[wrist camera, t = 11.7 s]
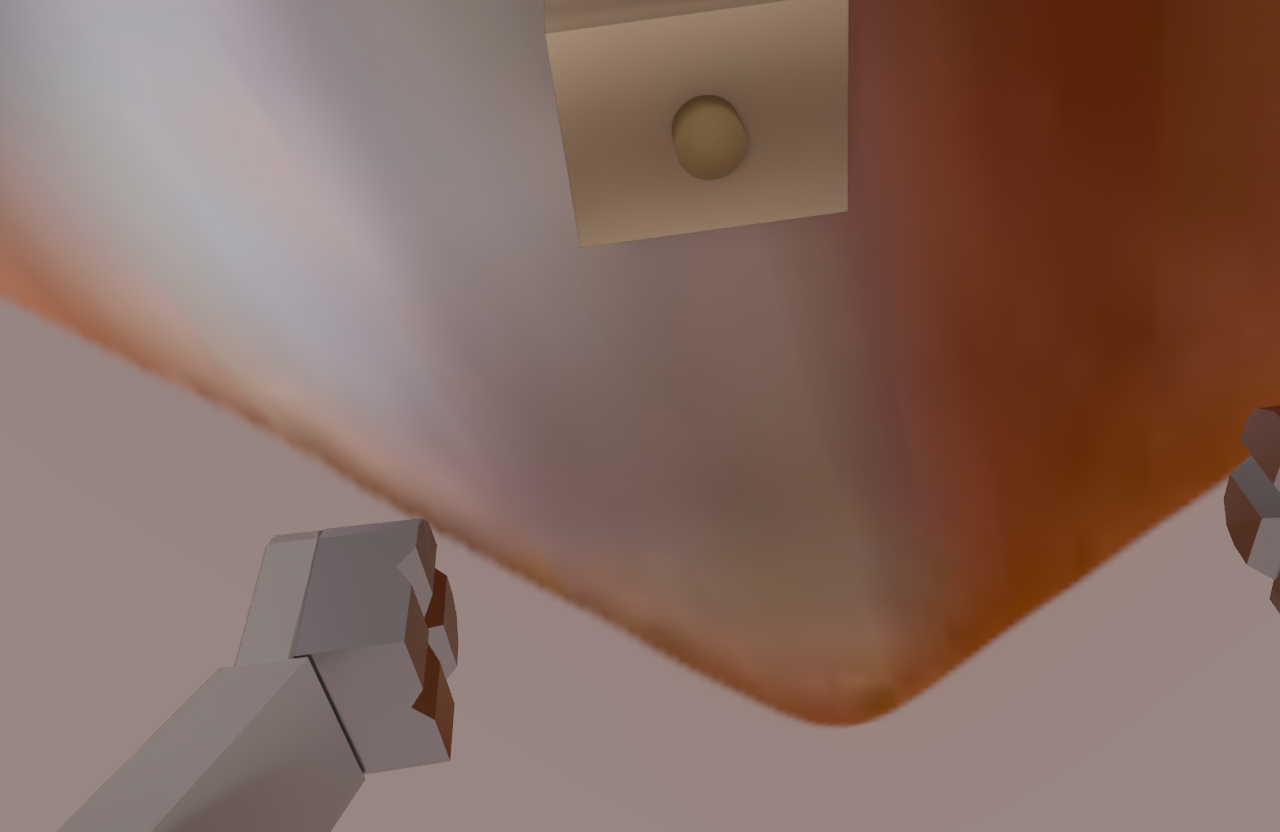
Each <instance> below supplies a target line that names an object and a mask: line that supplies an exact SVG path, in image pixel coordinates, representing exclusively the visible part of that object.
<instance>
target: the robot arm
mask: <svg viewBox="0 0 1280 832" xmlns="http://www.w3.org/2000/svg"><path fill="white" fill-rule="evenodd" d="M1241 441H1242V443H1243V444H1244V446H1245V447H1246V448H1247V450H1248V451H1249V453H1250V454H1251V455H1250V456H1249V457H1248V458H1247V459H1245V460H1244V461H1243V462H1242V463H1241V464H1240V465H1239V466H1238V467H1237V468H1236V469H1235V470H1234V471H1232V472H1231V473H1230V476H1229V480H1228V484H1227V488H1226V492H1225V496H1224V506H1225V515H1226V524H1227V528H1228V530H1229V533H1230V535H1231V538H1232V541H1233V543H1234V546H1235V547H1236V549H1237V550H1238V552H1239V553H1240V555H1241V556H1242V558H1243V560H1244V561H1245V563H1246V564H1247V565H1249V566H1250V567H1252V568H1254V569H1256V570H1258V571H1259V572H1261V573H1263V574H1265V575H1267V576H1268V577H1270V578H1272V579H1274V582H1273V586H1272V591H1271V596H1270V600H1271V601H1272V603H1273V604H1274V606H1275V607H1276V609H1277V610H1278V612H1279V613H1280V405H1278V406H1271V407H1264V408H1257V409H1256V410H1255V411H1254V413H1253V414H1252V415H1251V416H1250V417H1249V418H1248V419H1247V421H1246V424H1245V427H1244V430H1243V433H1242V437H1241ZM436 548H437V544H436V541H435V539H434V536H433V533H432V530H431V528H430V525H429V522H428V521H426V520H424V519H423V518H422V519H412V520H403V521H394V522H385V523H375V524H366V525H357V526H348V527H338V528H329V529H325V530H324V531H312V532H302V533H293V534H283V535H275V536H274V537H273V538H272V540H271V541H270V542H269V544H268V545H267V546H266V548H265V551H264V555H263V559H262V563H261V567H260V570H259V574H258V578H257V581H256V585H255V589H254V593H253V596H252V600H251V604H250V608H249V612H248V615H247V619H246V623H245V627H244V631H243V634H242V638H241V642H240V646H239V649H238V653H237V657H236V661H235V664H234V666H233V667H226V668H219V669H218V670H217V671H216V672H215V673H214V674H213V675H212V676H211V677H210V678H209V679H208V680H207V681H206V682H205V683H204V684H203V685H202V686H201V687H200V688H199V689H198V690H197V691H196V692H195V693H194V694H193V695H192V696H191V697H190V698H189V699H188V700H187V701H186V702H185V703H184V704H183V705H182V706H181V707H180V708H179V709H178V710H177V711H176V712H175V713H174V714H173V715H172V716H171V717H170V718H169V719H168V720H167V721H166V722H165V723H164V724H163V725H162V726H161V727H160V728H159V729H158V730H157V731H156V732H155V733H154V734H153V735H152V736H151V737H150V738H149V739H148V740H147V741H146V742H145V743H144V744H143V745H142V746H141V747H140V748H139V749H138V750H137V751H136V752H135V753H134V754H133V755H132V756H131V757H130V758H129V759H128V760H127V762H125V763H124V764H123V765H122V766H121V767H120V768H119V769H118V770H117V771H116V772H115V773H114V774H113V775H112V776H111V777H110V778H109V780H107V781H106V783H104V784H103V785H102V786H101V787H100V788H99V789H98V791H96V792H95V793H94V794H93V795H92V797H91V798H90V799H88V801H86V802H85V803H84V804H83V805H82V806H81V807H80V808H79V809H78V810H77V811H76V812H75V813H74V815H72V816H71V817H70V819H68V821H66V822H65V823H64V825H62V827H61V828H60V829H58V831H57V832H331V830H332V829H333V827H334V825H335V824H336V823H337V821H338V820H339V818H340V817H341V815H342V814H343V812H344V811H345V809H346V808H347V806H348V805H349V803H350V802H351V800H352V799H353V797H354V796H355V794H356V792H357V791H358V790H359V788H360V787H361V785H362V784H363V782H364V781H365V777H364V774H370V773H377V772H383V771H389V770H396V769H402V768H409V767H415V766H422V765H428V764H435V763H441V762H447V761H450V756H451V743H452V729H453V716H454V715H453V714H454V701H453V698H452V695H451V693H450V689H449V687H448V684H447V681H446V679H447V678H448V677H449V676H450V674H451V673H452V672H453V671H454V670H455V668H456V667H457V657H458V632H457V616H456V610H455V605H454V600H453V594H452V591H451V587H450V584H449V581H448V578H447V576H446V575H445V574H443V573H442V572H440V571H439V570H437V569H436V568H435V561H436Z"/></svg>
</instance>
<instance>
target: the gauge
mask: <svg viewBox="0 0 1280 832" xmlns="http://www.w3.org/2000/svg"><path fill="white" fill-rule="evenodd" d="M544 5H545V36H546V42H547V48H548V55H549V61H550V67H551V73H552V79H553V85H554V91H555V97H556V103H557V109H558V115H559V122H560V128H561V134H562V140H563V146H564V152H565V158H566V164H567V170H568V176H569V182H570V188H571V195H572V201H573V207H574V213H575V219H576V225H577V231H578V237H579V243H580V248H582V247H590V246H597V245H605V244H612V243H619V242H627V241H634V240H641V239H649V238H656V237H663V236H671V235H678V234H686V233H693V232H700V231H708V230H715V229H722V228H730V227H737V226H744V225H752V224H759V223H767V222H774V221H781V220H789V219H796V218H803V217H811V216H818V215H825V214H833V213H840V212H848V0H544Z"/></svg>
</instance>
